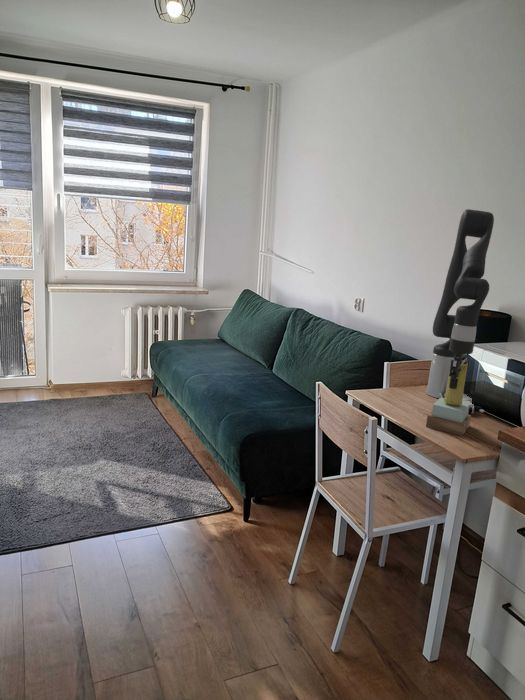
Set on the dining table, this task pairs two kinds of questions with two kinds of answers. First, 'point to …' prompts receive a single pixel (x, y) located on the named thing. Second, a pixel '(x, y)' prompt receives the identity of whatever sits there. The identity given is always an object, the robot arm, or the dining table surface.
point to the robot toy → (468, 400)
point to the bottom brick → (448, 424)
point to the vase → (456, 394)
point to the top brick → (450, 410)
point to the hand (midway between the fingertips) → (454, 386)
